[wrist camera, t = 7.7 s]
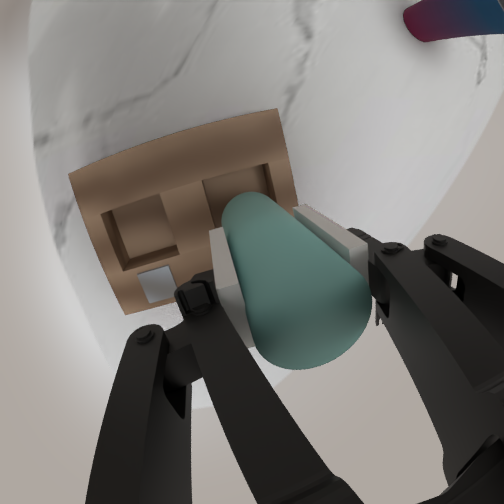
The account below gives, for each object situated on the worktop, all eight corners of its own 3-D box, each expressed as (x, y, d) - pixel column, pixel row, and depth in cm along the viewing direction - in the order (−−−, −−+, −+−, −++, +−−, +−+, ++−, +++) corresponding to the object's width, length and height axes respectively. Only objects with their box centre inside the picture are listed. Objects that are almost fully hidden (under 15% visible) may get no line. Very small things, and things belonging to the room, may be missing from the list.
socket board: (83, 169, 23) (66, 174, 20) (267, 112, 24) (278, 107, 21) (131, 296, 29) (124, 316, 25) (297, 249, 30) (309, 264, 26)
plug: (214, 200, 19) (236, 286, 8) (273, 185, 19) (370, 245, 8) (229, 255, 20) (266, 383, 9) (284, 239, 21) (371, 345, 10)
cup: (438, 56, 24) (532, 46, 10) (398, 36, 22) (497, 8, 9) (434, 15, 21) (518, -5, 7) (395, -6, 20) (480, -43, 6)
